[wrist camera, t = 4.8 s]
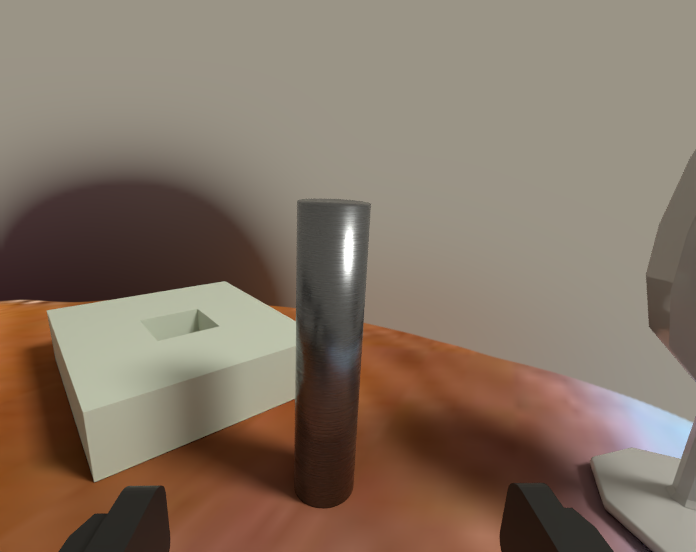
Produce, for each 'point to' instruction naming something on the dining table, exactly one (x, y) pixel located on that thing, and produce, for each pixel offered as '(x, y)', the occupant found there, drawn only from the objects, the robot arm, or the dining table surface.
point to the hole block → (169, 369)
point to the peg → (328, 345)
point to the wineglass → (692, 353)
